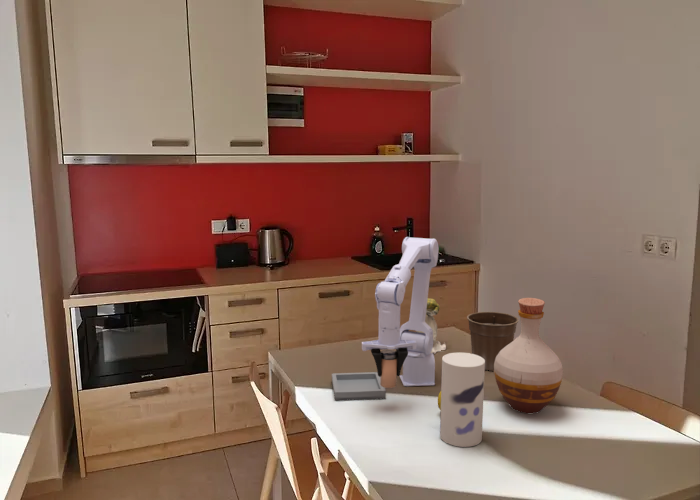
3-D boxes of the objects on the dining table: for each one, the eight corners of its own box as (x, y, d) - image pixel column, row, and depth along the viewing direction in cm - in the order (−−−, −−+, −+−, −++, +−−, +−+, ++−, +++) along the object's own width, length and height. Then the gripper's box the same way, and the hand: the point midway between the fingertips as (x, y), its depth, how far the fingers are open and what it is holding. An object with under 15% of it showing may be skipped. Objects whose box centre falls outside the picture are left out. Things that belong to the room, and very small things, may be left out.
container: (457, 451, 131) (460, 368, 128) (431, 433, 140) (433, 355, 136) (490, 441, 135) (494, 361, 132) (463, 424, 144) (466, 349, 141)
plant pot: (460, 369, 183) (462, 321, 180) (470, 354, 197) (472, 309, 195) (512, 377, 176) (515, 327, 174) (518, 360, 191) (520, 314, 189)
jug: (495, 388, 167) (500, 289, 163) (560, 396, 161) (566, 294, 157) (489, 416, 149) (493, 305, 144) (561, 426, 143) (568, 311, 139)
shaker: (395, 381, 155) (395, 349, 154) (398, 387, 151) (398, 355, 149) (378, 381, 155) (379, 350, 153) (381, 388, 150) (381, 355, 149)
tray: (378, 379, 174) (378, 372, 173) (385, 399, 160) (385, 390, 159) (331, 381, 172) (331, 373, 172) (334, 400, 158) (334, 392, 158)
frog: (403, 348, 203) (404, 299, 200) (425, 341, 212) (426, 293, 209) (429, 356, 195) (430, 305, 192) (450, 348, 204) (452, 298, 201)
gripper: (363, 331, 146) (363, 381, 148) (419, 330, 147) (418, 379, 149) (360, 323, 153) (360, 371, 155) (413, 322, 154) (412, 370, 156)
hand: (388, 375), depth 152 cm, fingers closed on shaker, 4 cm apart
